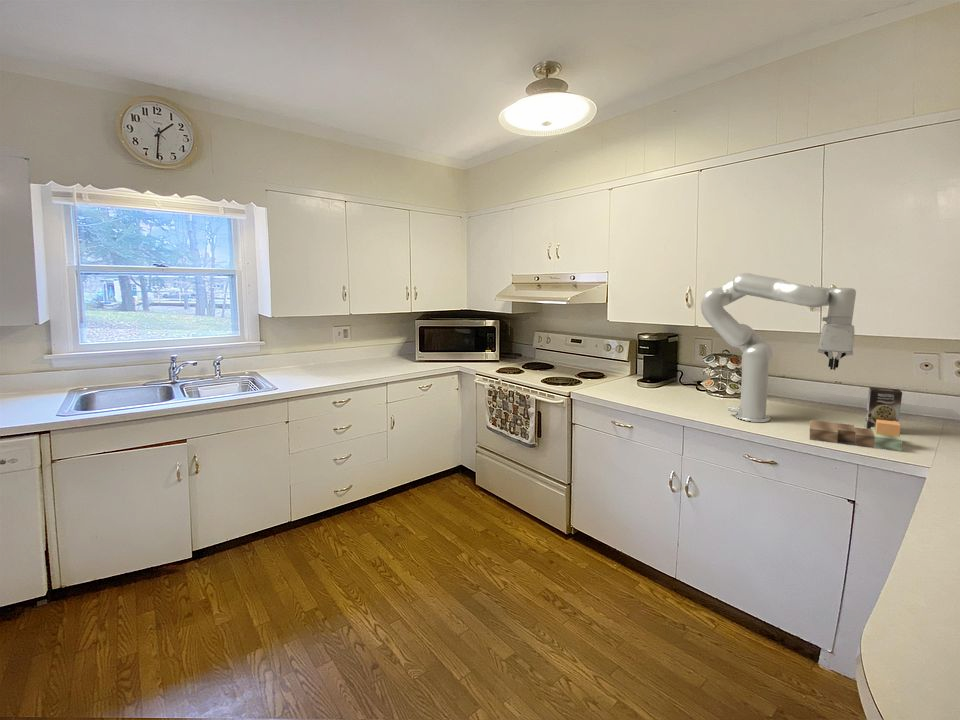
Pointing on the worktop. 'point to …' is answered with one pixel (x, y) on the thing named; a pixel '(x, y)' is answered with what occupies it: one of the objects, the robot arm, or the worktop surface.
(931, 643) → the worktop surface
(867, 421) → the coffee box
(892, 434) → the orange block
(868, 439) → the board
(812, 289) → the robot arm
